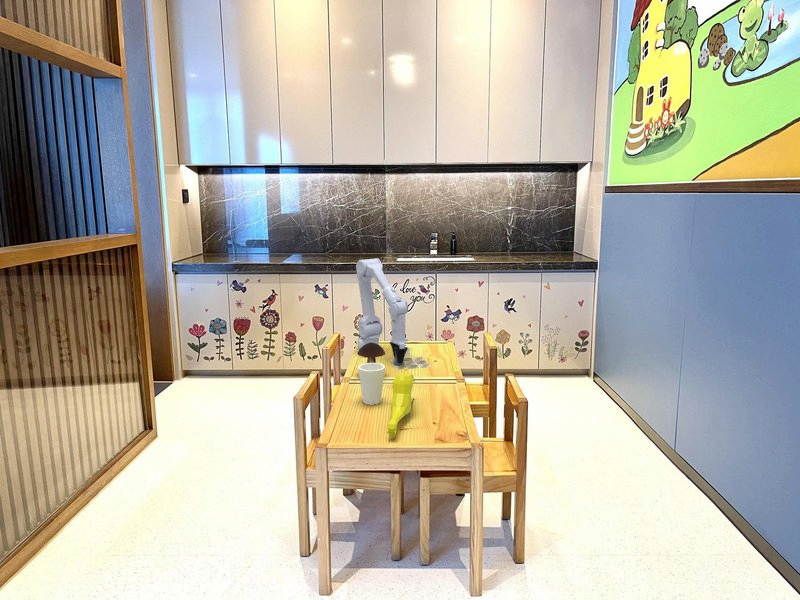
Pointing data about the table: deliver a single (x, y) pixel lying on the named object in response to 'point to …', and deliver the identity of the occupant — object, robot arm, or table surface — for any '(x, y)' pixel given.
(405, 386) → the banana
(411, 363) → the board
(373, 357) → the decorative mushroom
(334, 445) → the table surface
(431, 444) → the table surface
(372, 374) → the foam cup
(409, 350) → the die
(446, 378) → the table surface
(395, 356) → the pawn
